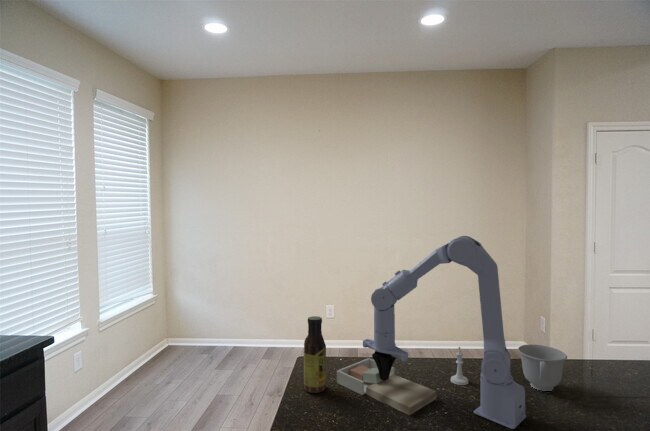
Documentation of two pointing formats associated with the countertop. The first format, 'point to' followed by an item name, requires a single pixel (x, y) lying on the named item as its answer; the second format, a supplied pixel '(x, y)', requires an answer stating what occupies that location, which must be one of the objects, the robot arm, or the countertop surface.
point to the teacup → (542, 366)
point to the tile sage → (371, 376)
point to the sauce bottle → (314, 357)
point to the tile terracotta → (358, 372)
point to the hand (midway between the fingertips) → (384, 379)
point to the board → (401, 394)
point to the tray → (353, 382)
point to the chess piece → (459, 371)
